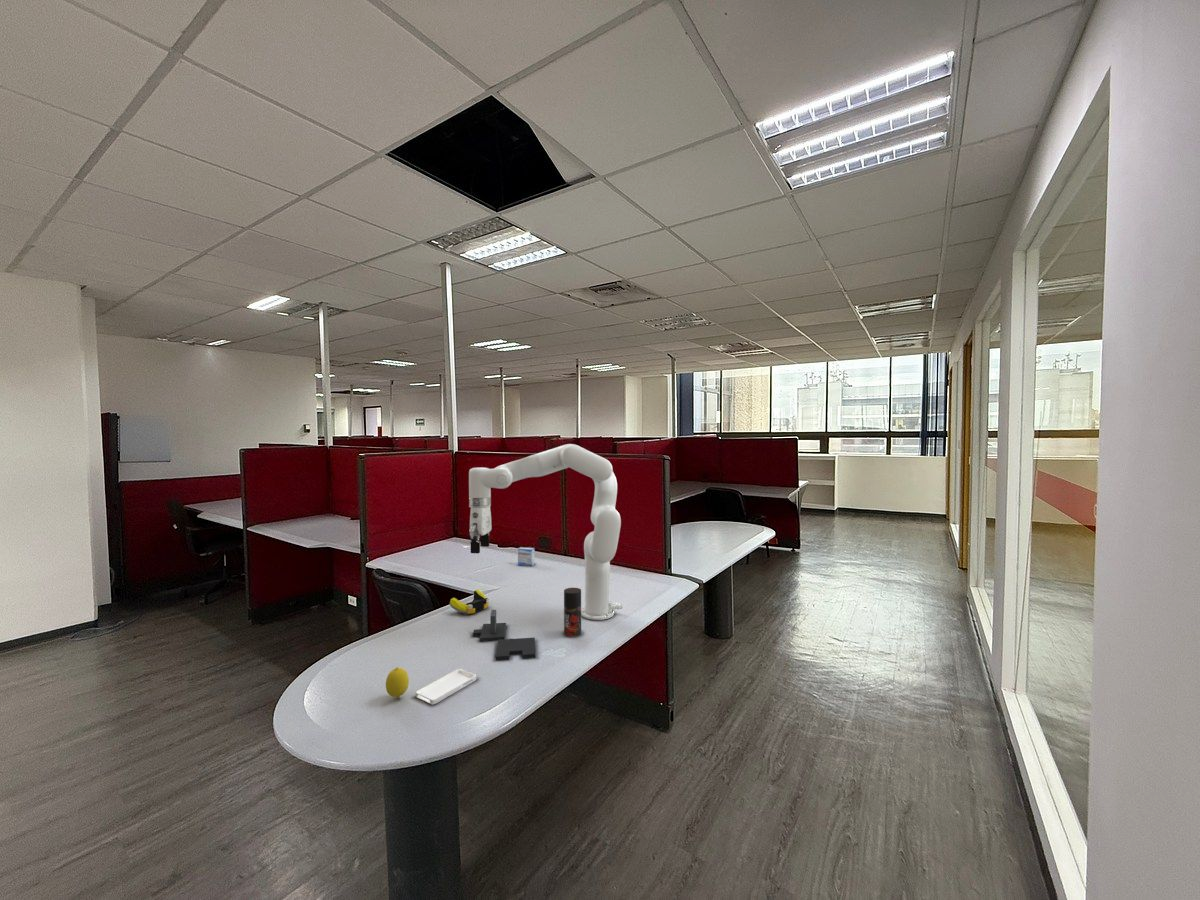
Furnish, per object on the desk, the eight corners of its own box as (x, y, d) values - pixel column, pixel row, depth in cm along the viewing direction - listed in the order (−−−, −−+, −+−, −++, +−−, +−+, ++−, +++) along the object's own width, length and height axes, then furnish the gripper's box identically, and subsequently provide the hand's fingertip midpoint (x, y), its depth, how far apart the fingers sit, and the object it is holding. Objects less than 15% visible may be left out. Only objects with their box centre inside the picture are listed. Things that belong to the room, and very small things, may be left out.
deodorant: (583, 631, 166) (583, 588, 166) (577, 638, 161) (577, 594, 160) (568, 628, 168) (568, 586, 168) (561, 635, 163) (561, 592, 162)
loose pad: (475, 627, 169) (475, 607, 169) (506, 625, 171) (505, 605, 171) (471, 642, 158) (471, 620, 157) (504, 640, 159) (504, 618, 159)
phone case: (459, 672, 138) (414, 697, 125) (459, 667, 138) (414, 691, 125) (477, 679, 134) (433, 705, 121) (477, 674, 134) (433, 700, 121)
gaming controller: (447, 612, 183) (464, 618, 178) (447, 598, 183) (464, 603, 177) (477, 601, 196) (494, 606, 190) (477, 588, 196) (494, 592, 190)
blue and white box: (517, 565, 249) (517, 548, 248) (520, 563, 253) (520, 546, 253) (532, 566, 247) (532, 549, 247) (534, 563, 252) (534, 547, 251)
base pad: (534, 640, 159) (534, 637, 159) (535, 657, 147) (535, 653, 147) (498, 643, 157) (498, 639, 157) (495, 660, 145) (495, 656, 145)
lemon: (390, 692, 127) (389, 663, 127) (411, 691, 128) (411, 662, 127) (382, 704, 122) (382, 673, 121) (405, 703, 122) (404, 672, 122)
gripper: (481, 506, 161) (481, 556, 162) (497, 499, 179) (498, 544, 179) (460, 505, 162) (460, 555, 163) (478, 498, 179) (478, 543, 180)
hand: (480, 549), depth 171 cm, fingers open, 9 cm apart
